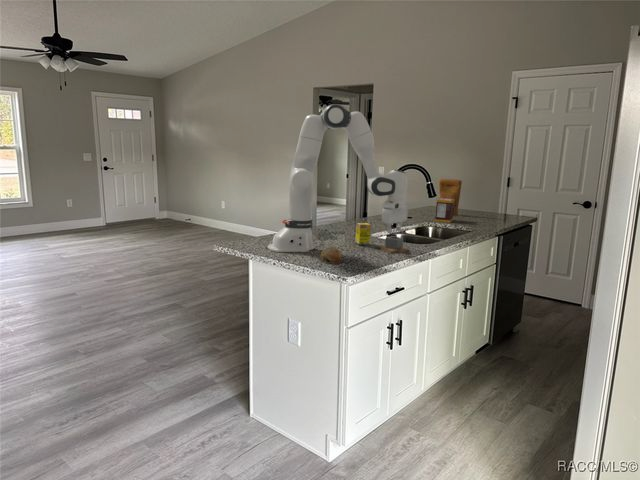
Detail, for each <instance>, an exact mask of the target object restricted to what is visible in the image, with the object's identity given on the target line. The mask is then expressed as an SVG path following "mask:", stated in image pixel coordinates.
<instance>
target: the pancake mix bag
mask: <svg viewBox="0 0 640 480" xmlns="http://www.w3.org/2000/svg"><path fill="white" fill-rule="evenodd" d="M462 183H463V180H461V179H452V178H450V179H447V178H440V179H438V183H437V184H438V194H439V198H438V199H440V198H448V199H455V203H454V214H453V217H456V216H457V217H458V216H459V215H458V214H459V205H460V204H459V202H460V197H461V192H462V185H463V184H462Z"/></svg>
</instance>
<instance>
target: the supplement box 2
mask: <svg viewBox="0 0 640 480" xmlns="http://www.w3.org/2000/svg"><path fill="white" fill-rule="evenodd" d="M454 203H455V199H448V198H440V199H439V198H438V199H436V207H435V208H436V209H435V220H434V221H435V222H440V223H451V222H452V221H454V216H453V214H454Z"/></svg>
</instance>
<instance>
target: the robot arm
mask: <svg viewBox="0 0 640 480" xmlns="http://www.w3.org/2000/svg"><path fill="white" fill-rule="evenodd" d="M337 129H343V130H344V131H345V133H346V135H347V137H348V140H349V142H350V145H351V146H352V149H353V150H354V152H355V153H356V155H357V156H358V158H359V159H360V162H361V164H362V167H363V170H364V172H365V176H366V188H367V191H368V192H369V193H370V194H372V195H374V196H377V197H385V196H387V199H386V200H385V201H384V202H383V203H382V208H383V209H382V212H381V222H382V224H384V225H386V226H385V227H386V233H387V234H388V233H389V234H390V233H392V232H393V229H392V225H393V224H397V226H396V227H395V228H396V229H395V230H396V231H397V232H399V231H401V229H402V226H403V224H404V223H403V222H406V221H407V219H408V212H409V211H408V206H407V204H406V203H407V190H408V185H409V184H408V182H409V181H408V180H409V179H408V175H407V173H406V172H405V171H402V170H398V169H392V170H390V171H389V172H387V173H384V174H381V173H380V171H379V169H378V166H377V164H376V160H375V158H374V150H375V149H374V148H375V138H374V134H373V132H372V130H371V127H370V124H369V123H368V121H367V119H366V117H365V116H364V114H363V113H362V112H360V111H352V112H350V111H348V109H346V108H345V107H344V106H342V105H341V104H338V103H333V104H329V105H328V106H326V107H325V108H324V109H323V111H322V112H321V113H320V114H308V115H307V116H306V117H305V118H304V121H303V122H302V125H301V129H300V132H299V136H298V139H297V140H298V141H297V143H296V144H297V146H296V150H295V153H294V158H293V162H292V165H291V170H290V174H289V198H288V199H289V202H288V204H289V205H288V206H289V207H288V219H285V218H284V219H282V220H281V223H282V224H283V225H284V227H283V228H281V229H280V230H278V232H276V233H275V234H274V235H273V239H272V243H269V244H268V245H267V248H268V249H269V250H270V251H272V252H277V253H300V252H302V253H306V252H310V250H313V249H315V246H314V241H313V233H312V232H313V226H314V225H313V224H314V223H313V219H312V215H313V198H314V196H313V195H314V186H315V185H314V184H315V182H314V174H315V171H316V167H317V163H318V160H319V156H320V152H321V148H322V144H323V140H324V136H325V132H326V131H327V130H337Z"/></svg>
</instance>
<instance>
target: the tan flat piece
mask: <svg viewBox="0 0 640 480" xmlns="http://www.w3.org/2000/svg"><path fill="white" fill-rule="evenodd" d="M378 249H379V250H381V251H383V252H387V253H389V254H396V253H397V254H398V253H400V254H401V253H410V249H409V248H407V247H404V246H403V248H400V249H397V250H395V249H389V248H385V245H378Z"/></svg>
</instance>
